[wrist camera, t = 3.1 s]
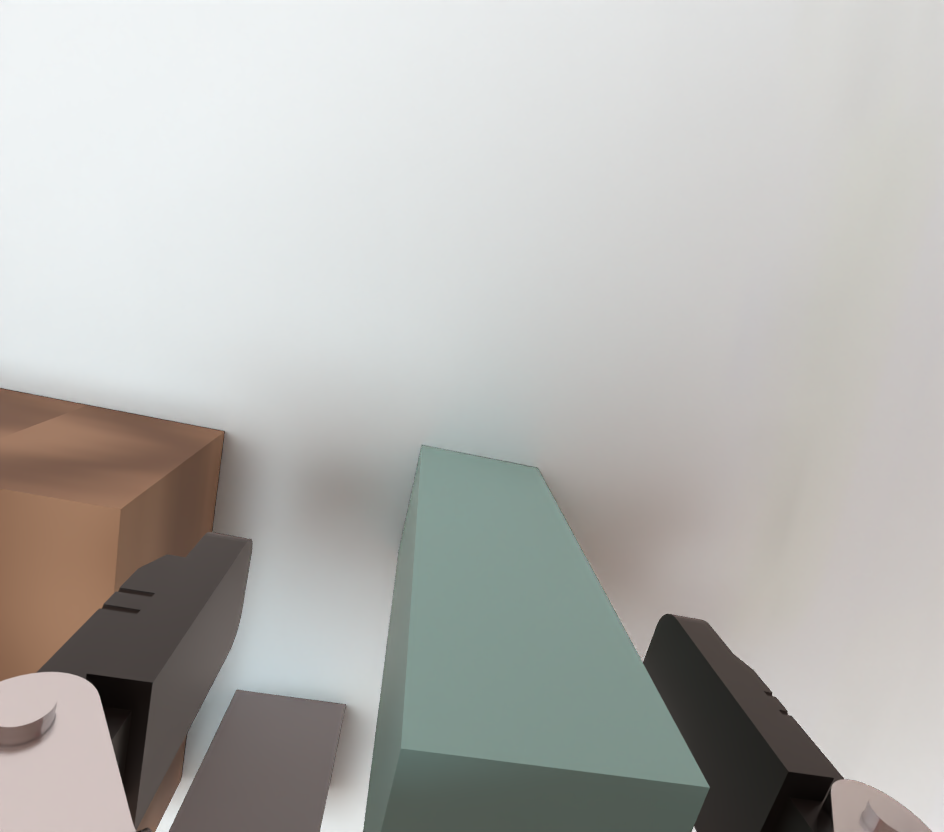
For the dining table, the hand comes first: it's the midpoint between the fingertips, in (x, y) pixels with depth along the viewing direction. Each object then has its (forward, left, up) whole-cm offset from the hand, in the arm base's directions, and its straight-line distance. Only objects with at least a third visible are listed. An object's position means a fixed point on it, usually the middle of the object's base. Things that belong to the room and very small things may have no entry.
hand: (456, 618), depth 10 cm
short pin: (+3, +9, -6) cm, 11 cm away
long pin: (-1, 0, -6) cm, 6 cm away
